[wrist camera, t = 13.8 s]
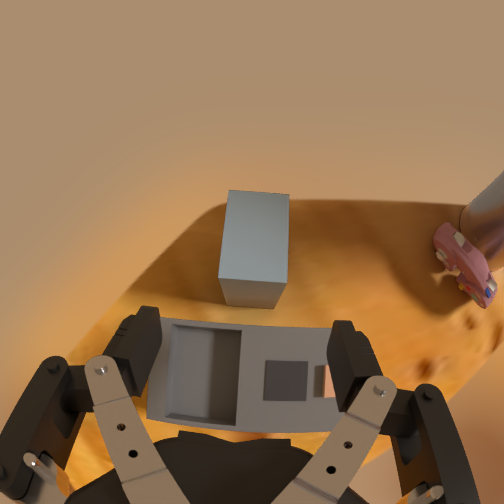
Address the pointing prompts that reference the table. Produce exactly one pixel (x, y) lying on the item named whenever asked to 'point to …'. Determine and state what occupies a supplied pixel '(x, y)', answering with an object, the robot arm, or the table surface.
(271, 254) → the block
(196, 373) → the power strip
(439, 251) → the pink curved toy
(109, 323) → the table surface
